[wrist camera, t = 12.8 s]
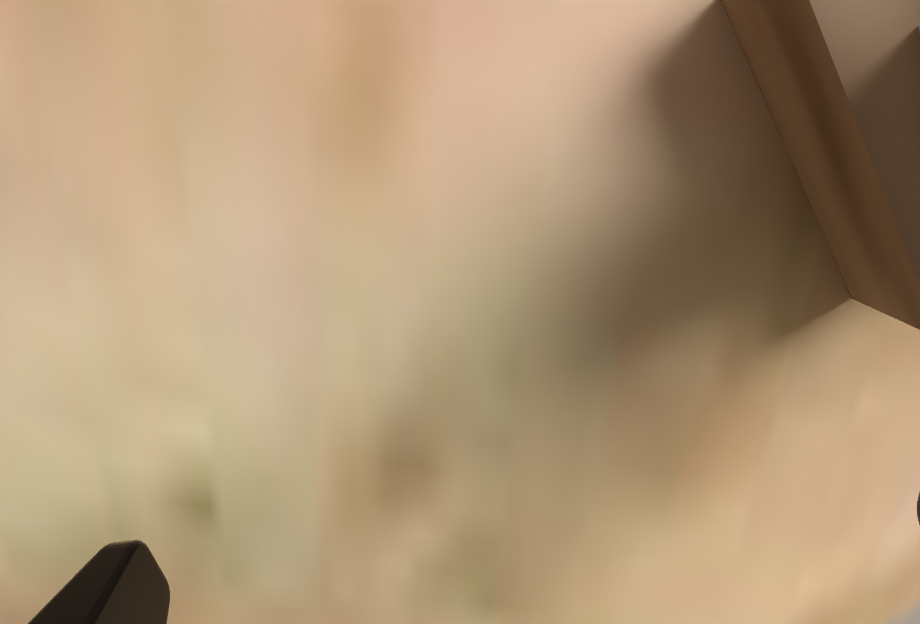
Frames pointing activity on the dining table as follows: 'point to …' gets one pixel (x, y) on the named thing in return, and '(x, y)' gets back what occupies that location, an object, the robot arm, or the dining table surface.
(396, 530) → the dining table surface
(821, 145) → the walnut block
